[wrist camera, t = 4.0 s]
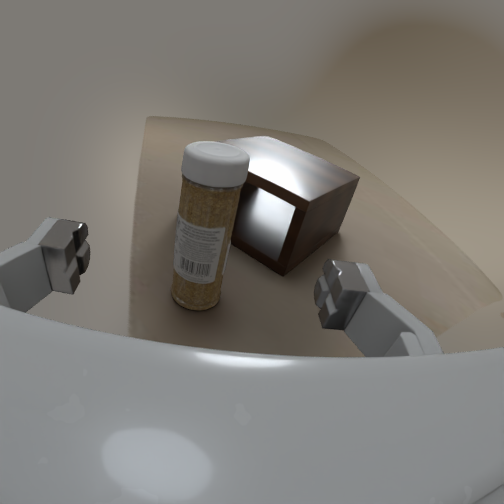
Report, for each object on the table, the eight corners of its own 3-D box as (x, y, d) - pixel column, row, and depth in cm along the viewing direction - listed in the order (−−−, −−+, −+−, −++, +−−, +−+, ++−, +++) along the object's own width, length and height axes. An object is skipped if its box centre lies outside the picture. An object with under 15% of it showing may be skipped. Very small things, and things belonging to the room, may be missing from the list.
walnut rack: (282, 276, 32) (309, 201, 27) (180, 211, 39) (189, 144, 33) (338, 231, 44) (360, 176, 39) (253, 186, 50) (266, 135, 45)
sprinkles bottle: (228, 291, 29) (262, 153, 21) (202, 321, 25) (231, 166, 17) (188, 271, 30) (208, 135, 22) (159, 296, 26) (170, 145, 18)
